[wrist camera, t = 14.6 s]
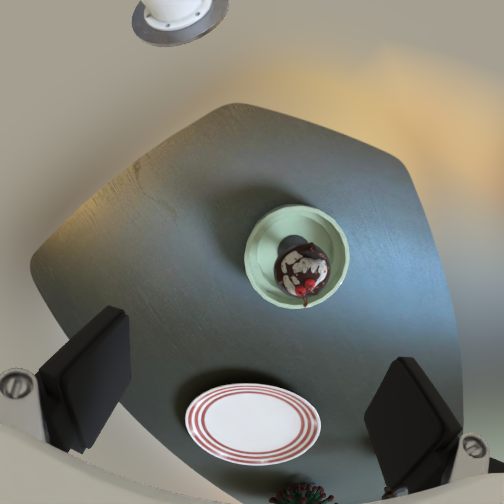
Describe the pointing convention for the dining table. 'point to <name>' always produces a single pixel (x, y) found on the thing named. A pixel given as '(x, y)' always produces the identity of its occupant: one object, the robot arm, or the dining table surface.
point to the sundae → (301, 268)
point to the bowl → (281, 226)
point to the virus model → (301, 495)
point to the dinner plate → (252, 423)
